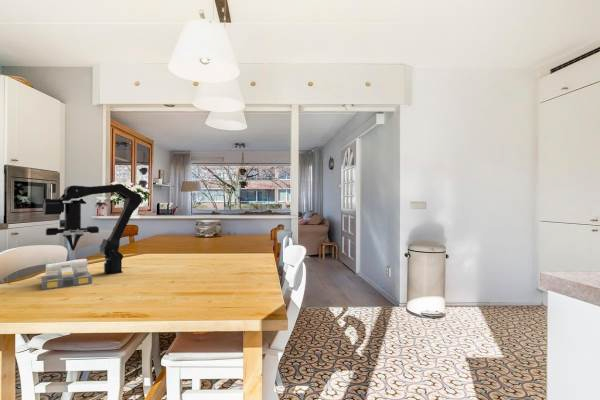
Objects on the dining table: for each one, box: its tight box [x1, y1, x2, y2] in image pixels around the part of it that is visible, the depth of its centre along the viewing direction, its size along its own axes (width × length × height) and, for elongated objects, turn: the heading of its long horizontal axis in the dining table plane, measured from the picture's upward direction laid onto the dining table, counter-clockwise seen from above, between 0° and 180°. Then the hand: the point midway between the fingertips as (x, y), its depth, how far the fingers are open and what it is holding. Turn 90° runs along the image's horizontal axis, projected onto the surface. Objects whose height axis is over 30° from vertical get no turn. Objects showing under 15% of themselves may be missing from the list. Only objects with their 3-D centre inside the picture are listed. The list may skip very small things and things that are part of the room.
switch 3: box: [75, 267, 89, 272], centre depth 139 cm, size 4×9×1 cm, turn 39°
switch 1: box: [44, 270, 58, 276], centre depth 133 cm, size 4×9×1 cm, turn 39°
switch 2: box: [60, 265, 73, 278], centre depth 136 cm, size 4×9×1 cm, turn 39°
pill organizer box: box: [40, 270, 93, 291], centre depth 136 cm, size 16×12×3 cm
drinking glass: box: [45, 258, 89, 274], centre depth 151 cm, size 7×7×15 cm
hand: (72, 250), depth 145 cm, fingers closed
